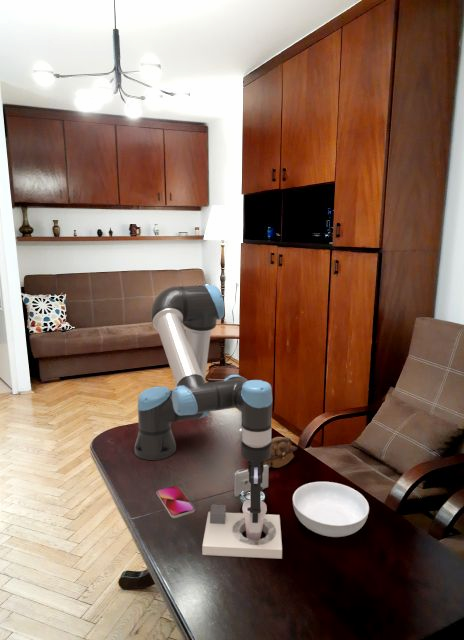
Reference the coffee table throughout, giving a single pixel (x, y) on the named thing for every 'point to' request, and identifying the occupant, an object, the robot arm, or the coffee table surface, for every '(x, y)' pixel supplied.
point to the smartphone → (175, 501)
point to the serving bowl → (330, 508)
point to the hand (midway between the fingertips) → (254, 522)
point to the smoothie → (247, 519)
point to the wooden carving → (280, 452)
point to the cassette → (243, 480)
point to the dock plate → (240, 536)
